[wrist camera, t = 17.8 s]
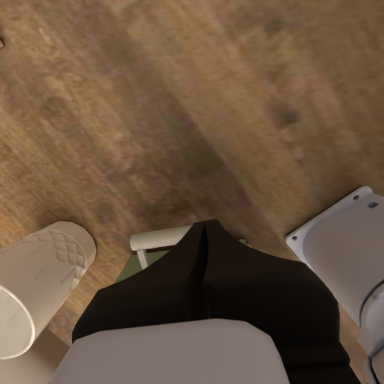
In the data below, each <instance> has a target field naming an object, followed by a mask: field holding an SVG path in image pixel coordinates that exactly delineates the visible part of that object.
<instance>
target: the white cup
mask: <svg viewBox="0 0 384 384" xmlns="http://www.w3.org/2000/svg"><path fill="white" fill-rule="evenodd" d="M96 250H97V249H96V246H95V243H94V240H93V237H92V236H91V235H90V234H89V233H88V232H87V231H86V230H85V228H83V227H81V226H79V225H77V224H75V223H73V222H66V221H58V222H55V223H53V224H50V225H48V226H46V227H44V228H42V229H40V230H39V231H36V232H32V233H30V234H28V235H26V236H25V237H22V238H20V239H18V240H16V241H14V242H12V243H10V244H8V245H6V246H4V247H2V248H0V359H9V358H14V357H16V356H19V355H21V354H23V353H24V352H26V351H27V350H28V349H29V348H30V346H31V345H32V343H34V341H35V340H36V339H37V337H38V336H39V335H40V333H41V332H42V331H43V329H44V328H45V327H46V325H47V324H48V323H49V321H50V320H51V319H52V317H53V316H54V315H55V314H56V312H57V311H58V310H59V308H60V307H61V306H62V304H63V303H64V302H65V300H66V299H67V298H68V297H69V295H70V294H71V293H72V291H73V290H74V288H75V287H76V286H77V284H78V283H79V281H80V280H81V278H82V276H83V274H84V273H85V272H86V270H87V269H88V268H89V266H90V265H91V264H92V263H93V261H94V260H95V256H96Z"/></svg>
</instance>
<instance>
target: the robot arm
mask: <svg viewBox="0 0 384 384" xmlns="http://www.w3.org/2000/svg"><path fill="white" fill-rule="evenodd" d="M354 196H356V198H355V199H353V198H354ZM293 236H296V237H295V238H294V239H292V237H293ZM285 242H286V243H287V245H288V246H289V247H290V248H291V249H292V250H293V252H294V253H295V254H296V255H297V256H298V258H299V259H300V260H301V261H302V262H298V261H293V260H288V259H283V258H279V257H275V256H272V255H269V254H266V253H263V252H260V251H258V250H256V249H253V248H251V247H249V246H247V245H245V244H244V243H242V242H240V241H239V240H237V239H236V238H235V237H233V236H232V235H231V234H230V233H229V232H228V231H227V230H226V229H225V228H224V227H223V226H222V225H221V224H220V223H219V221H218V220H217V219H214V220H208V221H202V222H196V223H194V224H193V225H192V226H191V228H190V229H189V230H188V231H187V233H186V234H185V235H184V236H183V237H182V238H181V240H180V241H179V242H178V243H177V244H176V245H175V246H174V247H173V248H172V249H171V250H169V251H168V252H167V253H166V254H165V255H163V256H162V257H161V258H160V259H158V260H157V261H155V262H154V263H152V264H151V265H149V266H148V267H146V268H145V269H143V270H141V271H139V272H138V273H136V274H134V275H132V276H130V277H128V278H126V279H124V280H122V281H119V282H117V283H115V284H112V285H110V286H108V287H105V288H103V289H100V290H98V291H97V293H96V294H95V296H94V297H93V299H92V300H91V302H90V303H89V305H88V306H87V308H86V310H85V311H84V313H83V314H82V316H81V317H80V319H79V320H78V322H77V323H76V325H75V327H74V330H73V332H72V344H73V345H72V346H71V348H70V349H69V351H68V352H67V354H66V355H65V357H64V358H63V360H62V362H61V363H60V365H59V366H58V368H57V370H56V371H55V373H54V375H53V376H52V378H51V379H50V381H49V383H48V384H361V383H360V381H359V380H358V378H357V376H356V375H355V373H354V372H353V370H352V368H351V367H350V365H349V363H350V358H349V356H348V354H347V352H346V351H345V349H344V348H343V346H342V345H341V343H340V312H339V307H338V302H339V303H340V304H341V306H342V307H343V308H344V309H345V311H346V312H347V313H348V314H349V316H350V317H351V318H352V319H353V321H354V322H355V323H356V325H357V326H358V327H359V328H360V330H361V331H360V333H359V335H358V336H357V338H356V339H357V341H358V342H359V344H360V345H361V346H362V348H363V349H364V350H365V352H366V353H367V354H368V356H369V357H367V358H366V359H365V360H364V362H363V373H364V376H365V380H366V382H367V384H384V197H383V196H381V195H378V194H375V193H373V191H372V190H371V189H370V188H369V187H367V186H361V187H360V188H358V189H357V190H355V191H354V192H352V193H351V194H349V195H348V196H346V197H345V198H343V199H342V200H340V201H339V202H337V203H336V204H334V205H333V206H331V207H330V208H328V209H327V210H325V211H324V212H322V213H321V214H319V215H318V216H316V217H315V218H313V219H312V220H310V221H309V222H307V223H306V224H304V225H303V226H301V227H300V228H298V229H297V230H295V231H294V232H292V233H291V234H289V235H288V236H286V237H285ZM335 298H336V299H337V300H336V299H335ZM337 301H338V302H337Z"/></svg>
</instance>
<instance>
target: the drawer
mask: <svg viewBox="0 0 384 384" xmlns="http://www.w3.org/2000/svg"><path fill="white" fill-rule="evenodd" d="M191 226H192V225H189V226H183V227H176V228H170V229H164V230H157V231H151V232H145V233H138V234H132V235H131V237H130V247H131V249H132V250H133V251H136V250H137V254H138V255H132V256H131V257H130V258H129V260H128V262H127V263H126V265H125V267H124V268H123V270H122V272H121V273H120V275H119V277H118V278H117V280H116V282H115V283H117V282H119V281H122V280H124V279H126V278H128V277H130V276H132V275H134V274H136V273H138V272H139V271H141V270H143V269H145V268H146V267H148V266H149V265H151V264H152V263H154V262H155V261H157V260H158V259H160V258H161V257H162V256H163V255H165V254H166V253H167V252H168V251H169V250H167V251H160V252H153V253H147V252H146V249H150V248H157V247H163V246H170V245H176V244H177V243H178V242H179V241H180V240H181V238H182V237H183V236H184V235H185V234H186V233H187V231H188V230H189V229H190V228H191ZM239 241H240V242H242V243H244V244H245V245H247V244H246V241H245V239H242V240H239ZM115 283H114V284H115Z"/></svg>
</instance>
